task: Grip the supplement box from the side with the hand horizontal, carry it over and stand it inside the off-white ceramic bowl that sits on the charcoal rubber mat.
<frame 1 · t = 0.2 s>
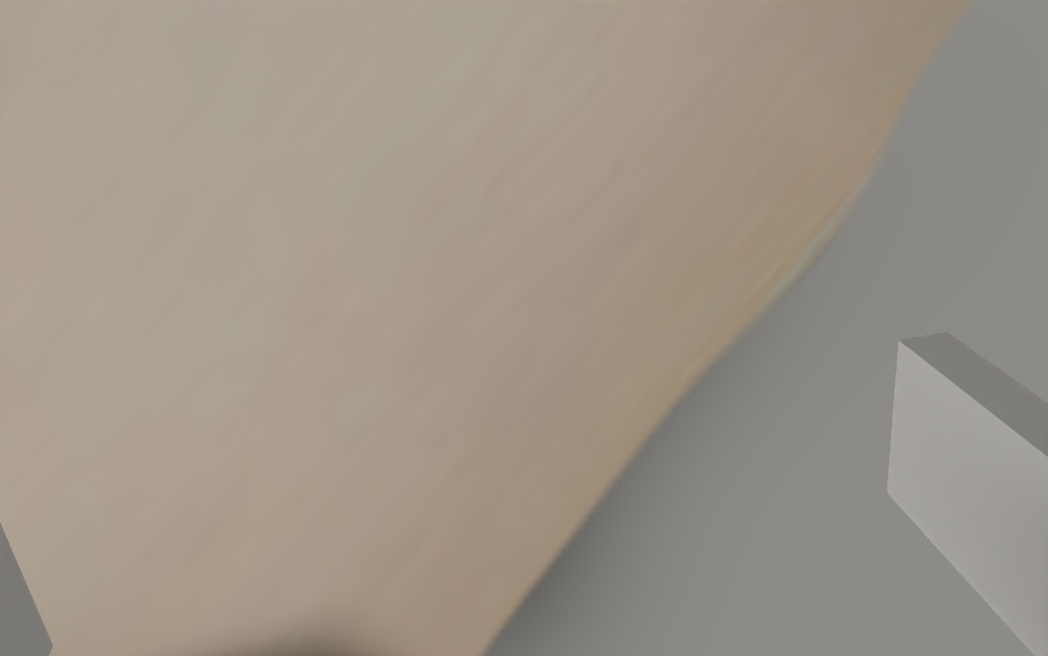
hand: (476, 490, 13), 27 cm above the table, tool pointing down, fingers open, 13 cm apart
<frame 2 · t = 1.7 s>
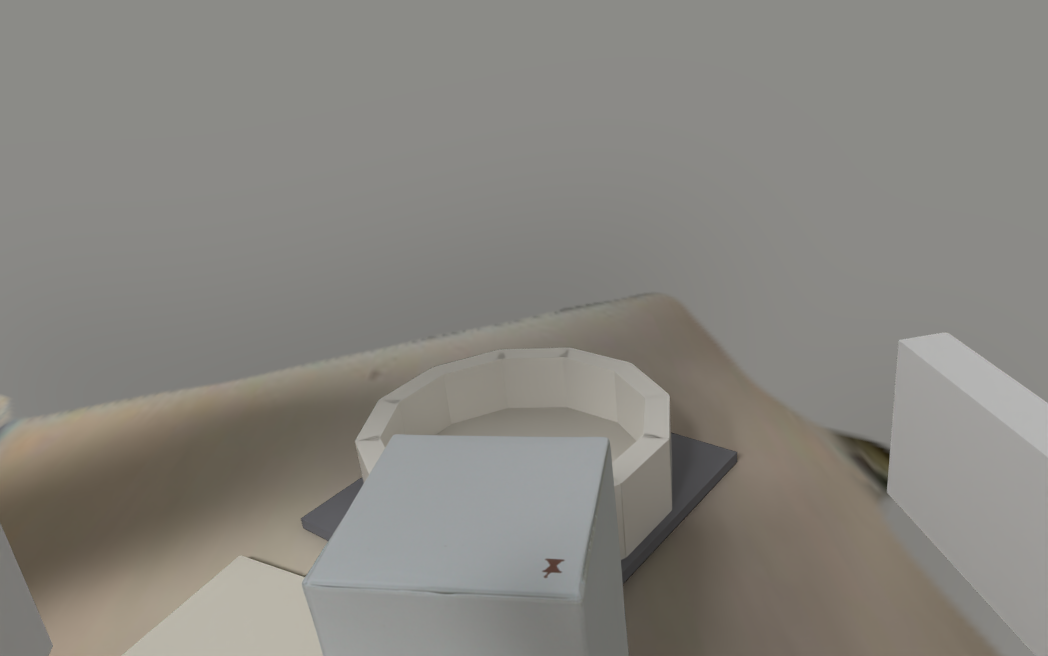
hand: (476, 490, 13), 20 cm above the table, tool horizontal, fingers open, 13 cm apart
mat: (523, 494, 46), on the table
folded cloth: (270, 651, 39), on the table
bowl: (522, 484, 46), resting on mat
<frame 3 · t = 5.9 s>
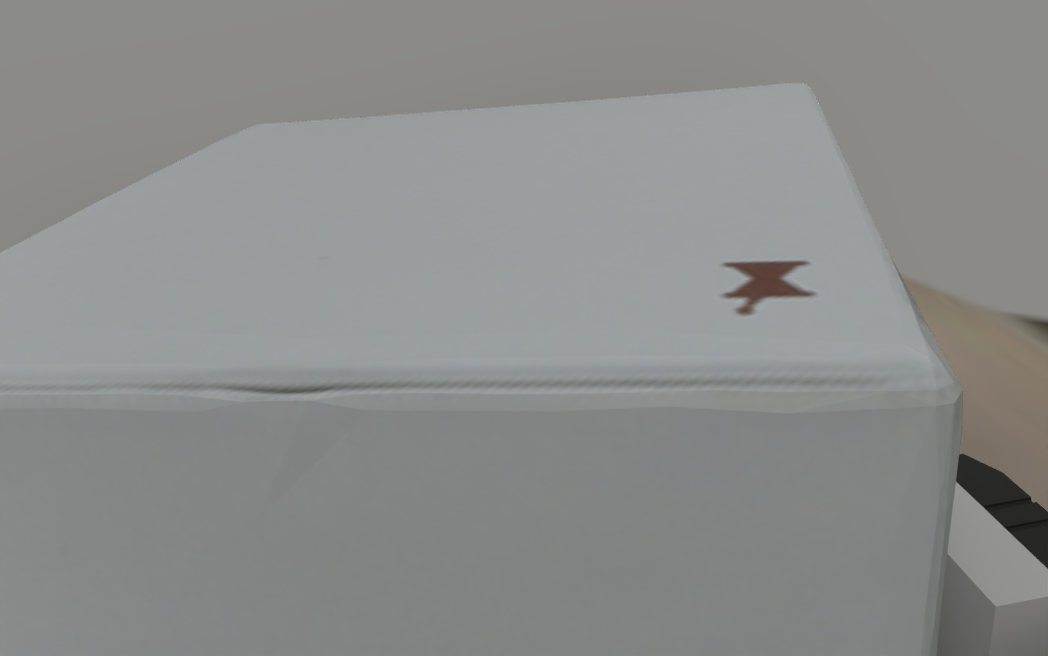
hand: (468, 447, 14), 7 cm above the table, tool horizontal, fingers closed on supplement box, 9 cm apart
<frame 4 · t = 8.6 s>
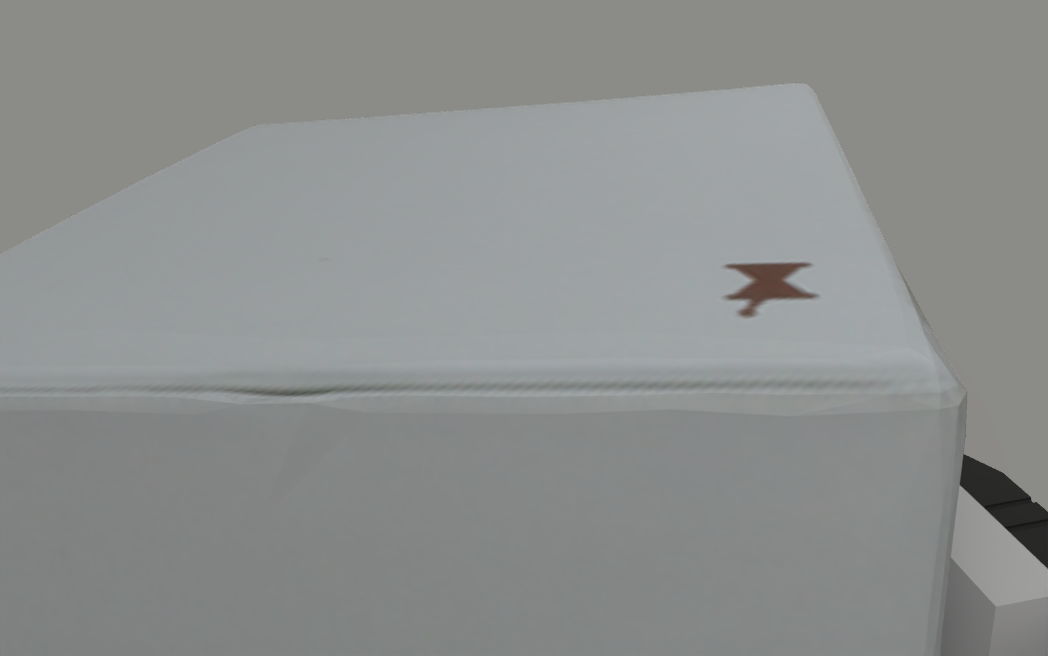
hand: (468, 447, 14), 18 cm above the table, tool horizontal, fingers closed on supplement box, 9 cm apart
when the fingers open (10 cm above the table, at t = 11.1 s): supplement box drops 1 cm, resting on bowl.
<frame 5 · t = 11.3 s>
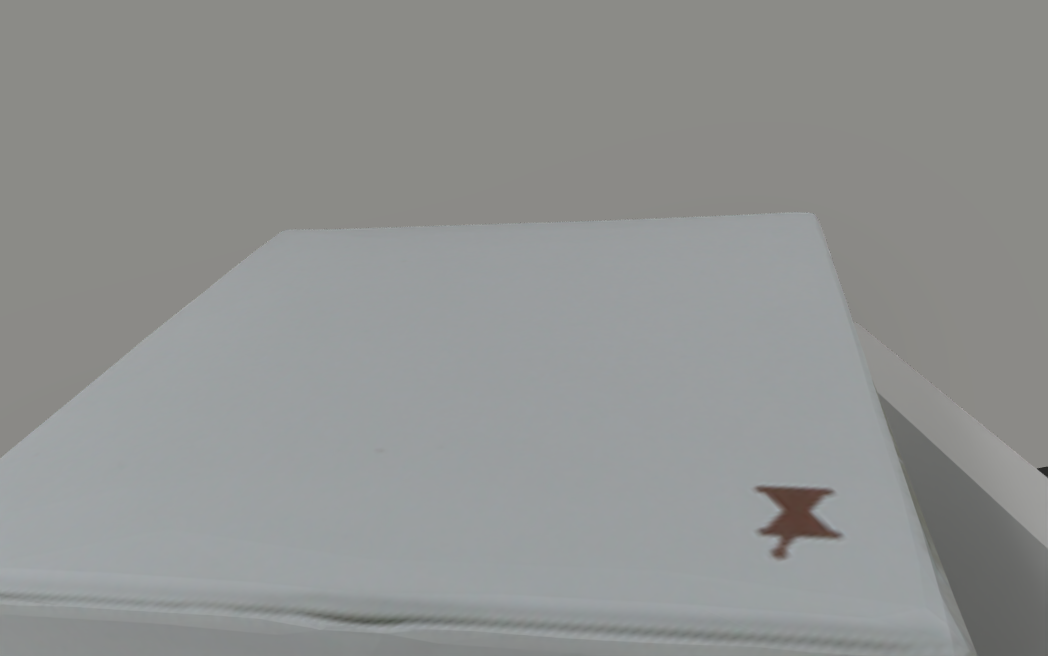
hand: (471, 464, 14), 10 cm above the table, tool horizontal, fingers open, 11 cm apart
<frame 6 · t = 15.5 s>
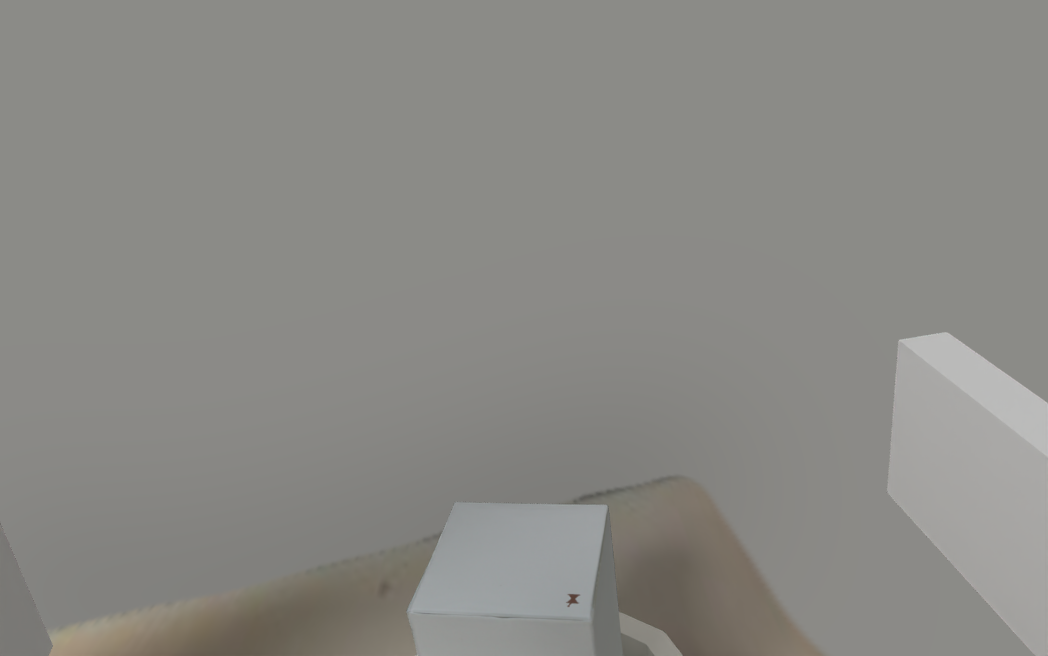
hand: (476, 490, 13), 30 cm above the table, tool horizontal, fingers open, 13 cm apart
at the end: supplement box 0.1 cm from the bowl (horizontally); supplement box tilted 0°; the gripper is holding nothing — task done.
